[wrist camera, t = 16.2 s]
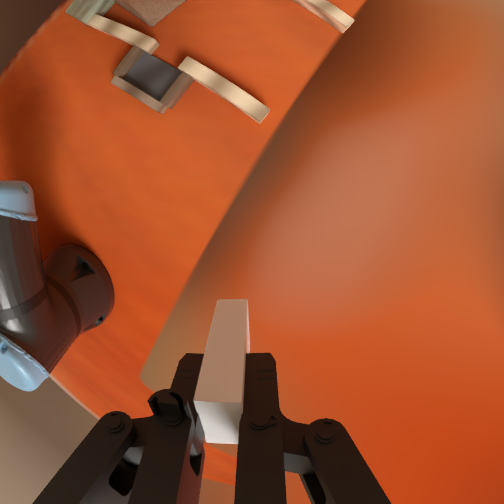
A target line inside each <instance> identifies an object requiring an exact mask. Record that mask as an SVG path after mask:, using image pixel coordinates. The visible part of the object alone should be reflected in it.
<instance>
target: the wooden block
mask: <svg viewBox="0 0 504 504" xmlns="http://www.w3.org/2000/svg"><path fill="white" fill-rule="evenodd" d="M114 1H115V2H116V3H117V4H118V5H120V6H121V7H123V8H124V9H126V10H127V11H129V12H130V13H132V14H133V15H135V16H136V17H138V18H139V19H140V20H142V21H143V22H145V23H146V24H147V25H149V26H152V27H153V26H155V25H156V24H157V23H158V22H159V21H161V20H162V19H163V18H164V17H165V16H167V15H168V14H169V13H170V12H172V11H173V10H174V9H175V8H177V7H178V6H179V5H181V4H182V3H183V2H185V1H186V0H114Z"/></svg>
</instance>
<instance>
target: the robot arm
mask: <svg viewBox="0 0 504 504" xmlns="http://www.w3.org/2000/svg"><path fill="white" fill-rule="evenodd" d="M37 221H38V216H37V215H36V211H35V203H34V194H33V190H32V187H31V186H30V185H29V184H28V183H27V182H25V181H20V180H9V181H0V376H1V377H2V378H4V379H5V380H6V381H7V382H9V383H10V384H12V385H13V386H15V387H17V388H19V389H21V390H24V391H33V390H35V389H36V388H37V387H38V386H39V385H40V384H41V382H42V381H43V380H44V379H45V378H47V377H48V376H49V374H50V373H51V371H52V370H53V369H54V367H55V366H56V364H57V363H58V362H59V360H60V359H61V358H62V356H63V355H64V354H65V352H66V351H67V350H68V348H69V347H70V346H71V344H72V343H73V342H74V341H75V339H76V338H77V337H78V336H79V335H80V334H82V333H84V332H86V331H88V330H90V329H92V328H95V327H97V326H99V325H100V324H101V323H103V322H104V320H105V319H106V318H107V317H108V316H109V314H110V313H111V311H112V309H113V306H114V289H113V285H112V282H111V279H110V276H109V274H108V272H107V271H106V269H105V267H104V266H103V264H102V263H101V262H100V261H99V259H98V258H97V257H96V256H95V255H93V254H92V253H91V252H90V251H88V250H87V249H85V248H83V247H81V246H78V245H74V244H66V245H63V246H60V247H59V248H57V249H55V250H54V251H52V252H51V253H50V254H49V255H48V256H47V258H46V259H45V261H44V262H43V261H42V255H41V249H40V243H39V236H38V228H37ZM249 352H250V336H249V318H248V300H247V299H227V300H217V304H216V308H215V312H214V316H213V320H212V324H211V328H210V332H209V336H208V340H207V345H206V349H205V353H204V354H194V353H193V354H192V353H186V355H185V356H184V357H183V358H182V359H181V360H180V361H179V364H178V367H177V371H176V373H175V376H174V379H173V382H172V385H171V388H170V389H163V390H160V391H157V392H155V393H154V394H153V395H151V397H150V398H149V400H148V403H149V405H150V407H151V409H152V412H153V414H154V415H153V416H150V417H145V418H136V419H131V418H130V416H129V415H127V414H126V413H124V412H120V411H113V412H110V413H107V414H105V415H104V416H103V417H102V418H101V419H100V420H99V421H98V422H97V424H96V425H95V426H94V427H93V429H92V430H91V431H90V433H88V435H87V436H86V437H85V439H84V440H83V441H82V442H81V443H80V445H79V446H78V447H77V448H76V450H75V451H74V452H73V453H72V455H71V456H70V457H69V458H68V459H67V461H66V462H65V463H64V465H63V466H62V467H61V468H60V469H59V471H58V472H57V473H56V475H55V476H54V477H53V478H52V480H51V481H50V482H49V483H48V485H47V486H46V487H45V488H44V490H43V491H42V492H41V493H40V495H39V496H38V497H37V498H36V500H35V501H34V502H33V504H198V502H199V495H200V488H201V480H202V473H203V466H204V459H205V450H204V447H203V445H204V438H205V439H206V442H207V443H225V444H227V443H228V444H238V452H237V468H236V484H235V502H234V504H287V502H286V485H285V471H288V472H293V473H298V474H299V476H300V478H301V481H302V483H303V485H304V487H305V490H306V492H307V495H308V497H309V499H310V501H311V504H391V502H390V501H389V499H388V498H387V496H386V494H385V493H384V491H383V489H382V488H381V486H380V485H379V483H378V481H377V480H376V478H375V476H374V475H373V473H372V472H371V470H370V468H369V467H368V465H367V464H366V462H365V460H364V459H363V457H362V455H361V454H360V452H359V450H358V449H357V447H356V445H355V444H354V442H353V440H352V439H351V437H350V436H349V434H348V432H347V431H346V429H345V428H344V426H343V425H342V424H341V423H340V422H338V421H335V420H333V419H327V418H325V419H318V420H316V421H314V422H312V423H310V424H309V425H308V424H302V423H297V422H294V421H291V420H289V419H287V418H286V417H285V416H284V415H283V414H282V413H281V411H280V408H279V399H278V385H277V372H276V361H275V359H274V358H273V356H272V355H271V354H270V353H249Z"/></svg>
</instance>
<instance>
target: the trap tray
mask: <svg viewBox="0 0 504 504" xmlns="http://www.w3.org/2000/svg"><path fill="white" fill-rule="evenodd" d="M293 1H295V2H296V3H298V4H300V5H301V6H303V7H305V8H306V9H308V10H309V11H311V12H312V13H314V14H316V15H317V16H319V17H320V18H322V19H323V20H325V21H326V22H327V23H329V24H330V25H332V26H333V27H334V28H336V29H337V30H339V31H340V32H341V33H343V32H344V31H345V30H347V29H348V28H349V27H350V25H351V24H352V23H353V22H354V19H353V18H351V17H350V16H348V15H347V14H346V13H344V12H343V11H342V10H340V9H339V8H337V7H336V6H334V5H333V4H331V3H330V2H328V1H327V0H293ZM114 3H115V1H114V0H74V1H73V2H72V3H71V5H70V6H69V7H68V8H67V10H66V11H65V13H67V14H69V15H70V16H72V17H74V18H75V19H77V20H79V21H80V22H82V23H84V24H85V25H87V26H90V27H92V28H94V29H97V30H99V31H102V32H104V33H106V34H108V35H111V36H113V37H115V38H117V39H119V40H122V41H124V42H126V43H128V44H130V45H132V46H133V47H132V48H131V49H130V51H129V52H128V53H127V54H126V56H125V57H124V58H123V60H122V61H121V62H120V64H119V65H118V66H117V68H116V69H115V71H114V72H113V73H112V74H114V75H115V76H114V77H113V79H112V80H111V82H110V83H112V84H114V85H115V86H117V87H119V88H120V89H122V90H124V91H125V92H127V93H128V94H130V95H132V96H133V97H135V98H137V99H138V100H140V101H141V102H143V103H144V104H146V105H148V106H149V107H151V108H152V109H154V110H155V111H157V112H159V113H162V114H164V112H165V111H166V110H167V108H170V109H172V108H173V107H174V105H175V104H176V103H177V102H178V100H179V99H180V98H181V96H182V95H183V94H184V92H185V91H186V90H187V89H188V87H189V86H190V85H191V84H192V82H193V81H194V80H195V81H197V82H199V83H200V84H202V85H203V86H205V87H207V88H208V89H210V90H211V91H213V92H214V93H216V94H217V95H219V96H220V97H222V98H223V99H225V100H226V101H228V102H229V103H231V104H232V105H234V106H235V107H237V108H238V109H240V110H241V111H243V112H244V113H245V114H247V115H248V116H250V117H251V118H252V119H254V120H255V121H256V122H258V123H259V124H260V123H261V122H262V120H263V119H264V118H265V117H266V116H267V114H268V113H269V112H270V109H269V108H268V107H266V106H265V105H263V104H262V103H261V102H259V101H258V100H256V99H255V98H254V97H252V96H251V95H249V94H248V93H246V92H245V91H243V90H242V89H240V88H239V87H237V86H236V85H234V84H233V83H231V82H230V81H228V80H227V79H225V78H223V77H222V76H220V75H219V74H217V73H215V72H214V71H212V70H210V69H209V68H207V67H205V66H204V65H202V64H200V63H199V62H197V61H195V60H193V59H192V58H190V57H188V56H187V57H186V58H185V59H184V61H183V62H182V63H181V64H180V65H179V66H178V69H179V70H180V71H179V70H178V69H176V68H174V67H172V66H171V65H169V64H167V63H165V62H163V61H162V60H160V59H158V58H156V57H154V56H152V53H153V52H154V51H155V50H156V49H157V47H158V46H159V45H160V44H159V43H158V42H157V41H156V40H155V39H153V38H151V37H149V36H147V35H145V34H143V33H141V32H138V31H136V30H134V29H132V28H129V27H127V26H125V25H122V24H120V23H117V22H115V21H112V20H110V19H107V18H105V17H103V16H104V15H105V13H106V12H107V11H108V10H109V9H110V8H111V7H112V5H113V4H114Z"/></svg>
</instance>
